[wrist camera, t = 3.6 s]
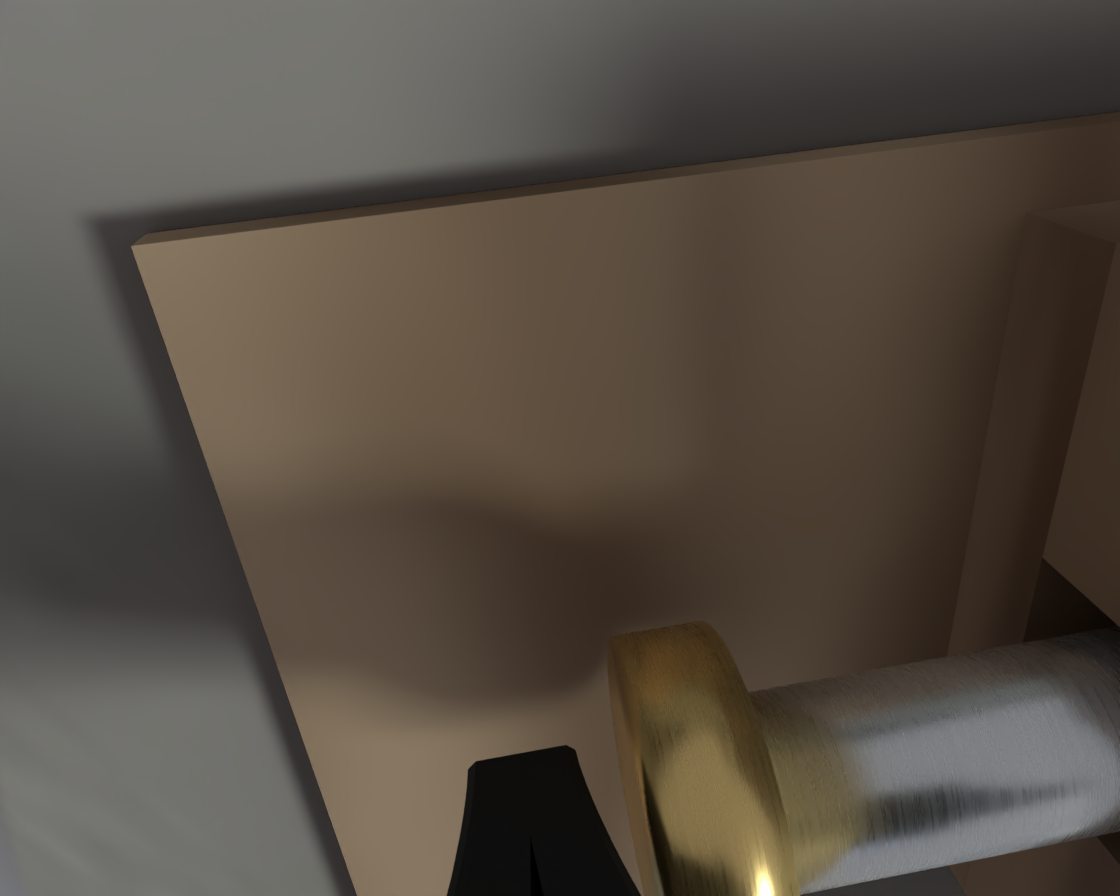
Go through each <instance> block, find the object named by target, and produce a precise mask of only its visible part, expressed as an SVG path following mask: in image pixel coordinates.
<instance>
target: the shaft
mask: <svg viewBox="0 0 1120 896" xmlns="http://www.w3.org/2000/svg"><path fill="white" fill-rule="evenodd" d="M607 670H608V685H609V695H610V705H611V713H612V721H613V729H614V736H615V743H616V750H617V756H618V763H619V769H620V775H621V781H622V787H623V793H624V798H625V804H626V809H627V815H628V820H629V825H630V830H631V836H632V841H633V846H634V850H635V855H636V860H637V865H638V870H639V874H640V879H641V883H642V888H643V892H644V896H800V895H802V894H807V893H812V892H817V891H822V890H827V889H832V888H837V887H842V886H847V885H853V884H858V883H863V882H868V881H873V880H878V879H883V878H888V877H893V876H898V875H903V874H908V873H913V872H918V871H923V870H928V869H933V868H938V867H943V866H948V865H953V864H958V863H963V862H968V861H973V860H978V859H983V858H988V857H993V856H998V855H1003V854H1008V853H1013V852H1018V851H1023V850H1028V849H1033V848H1038V847H1043V846H1048V845H1053V844H1058V843H1063V842H1068V841H1073V840H1078V839H1083V838H1088V837H1093V836H1099V835H1104V834H1109V833H1114V832H1119V831H1120V627H1119V626H1115V627H1110V628H1104V629H1099V630H1093V631H1087V632H1082V633H1076V634H1071V635H1065V636H1059V637H1054V638H1048V639H1042V640H1037V641H1031V642H1026V643H1020V644H1014V645H1009V646H1003V647H998V648H992V649H986V650H981V651H975V652H969V653H964V654H958V655H953V656H947V657H941V658H936V659H930V660H925V661H919V662H913V663H908V664H902V665H896V666H891V667H885V668H880V669H874V670H868V671H863V672H857V673H851V674H846V675H840V676H835V677H829V678H823V679H818V680H812V681H807V682H801V683H795V684H790V685H784V686H778V687H773V688H767V689H762V690H756V691H750V692H748V691H747V689H746V686H745V684H744V681H743V679H742V677H741V675H740V672H739V670H738V668H737V666H736V664H735V662H734V660H733V658H732V656H731V654H730V652H729V650H728V648H727V646H726V645H725V643H724V641H723V640H722V638H721V637H720V635H719V634H718V633H717V632H716V630H715V629H714V628H713V627H712V626H711V625H710V624H709V623H707V622H705V621H695V622H689V623H683V624H677V625H671V626H665V627H660V628H654V629H648V630H642V631H636V632H630V633H624V634H618V635H613V636H610V637H609V640H608V646H607Z"/></svg>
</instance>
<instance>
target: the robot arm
mask: <svg viewBox="0 0 1120 896" xmlns="http://www.w3.org/2000/svg"><path fill="white" fill-rule="evenodd" d="M447 896H641V894H640V892H639V891H638V889H637V887H636V885H635V883H634V882H633V880H632V878H631V876H630V874H629V873H628V871H627V869H626V867H625V865H624V864H623V862H622V860H621V858H620V856H619V854H618V852H617V850H616V848H615V846H614V844H613V842H612V840H611V838H610V836H609V834H608V832H607V830H606V827H605V825H604V823H603V821H602V819H601V817H600V815H599V813H598V810H597V808H596V806H595V803H594V801H593V799H592V796H591V794H590V791H589V789H588V786H587V784H586V781H585V778H584V776H583V773H582V770H581V767H580V764H579V761H578V757H577V753H576V750H575V749H573V748H571V747H569V746H568V745H562V746H557V747H551V748H546V749H540V750H535V751H529V752H524V753H518V754H513V755H507V756H502V757H496V758H491V759H485V760H480V761H475V763H474V764H473V765H472V766H471V767H470V768H469V769H468V776H467V790H466V799H465V806H464V814H463V820H462V826H461V832H460V837H459V842H458V847H457V852H456V857H455V862H454V867H453V872H452V876H451V880H450V884H449V888H448V892H447Z"/></svg>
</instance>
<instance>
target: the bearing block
mask: <svg viewBox="0 0 1120 896" xmlns="http://www.w3.org/2000/svg"><path fill="white" fill-rule="evenodd" d="M131 248H132V251H133V254H134V256H135V259H136V262H137V265H138V268H139V271H140V274H141V277H142V279H143V282H144V285H145V288H146V291H147V294H148V297H149V300H150V302H151V305H152V308H153V311H154V314H155V317H156V320H157V322H158V325H159V328H160V331H161V334H162V337H163V340H164V343H165V345H166V348H167V351H168V354H169V357H170V360H171V363H172V366H173V368H174V371H175V374H176V377H177V380H178V383H179V386H180V389H181V391H182V394H183V397H184V400H185V403H186V406H187V409H188V412H189V414H190V417H191V420H192V423H193V426H194V429H195V432H196V435H197V437H198V440H199V443H200V446H201V449H202V452H203V455H204V458H205V460H206V463H207V466H208V469H209V472H210V475H211V478H212V480H213V483H214V486H215V489H216V492H217V495H218V498H219V501H220V503H221V506H222V509H223V512H224V515H225V518H226V521H227V524H228V526H229V529H230V532H231V535H232V538H233V541H234V544H235V547H236V549H237V552H238V555H239V558H240V561H241V564H242V567H243V570H244V572H245V575H246V578H247V581H248V584H249V587H250V590H251V593H252V595H253V598H254V601H255V604H256V607H257V610H258V613H259V616H260V618H261V621H262V624H263V627H264V630H265V633H266V636H267V638H268V641H269V644H270V647H271V650H272V653H273V656H274V659H275V661H276V664H277V667H278V670H279V673H280V676H281V679H282V682H283V684H284V687H285V690H286V693H287V696H288V699H289V702H290V705H291V707H292V710H293V713H294V716H295V719H296V722H297V725H298V728H299V730H300V733H301V736H302V739H303V742H304V745H305V748H306V751H307V753H308V756H309V759H310V762H311V765H312V768H313V771H314V774H315V776H316V779H317V782H318V785H319V788H320V791H321V794H322V796H323V799H324V802H325V805H326V808H327V811H328V814H329V817H330V819H331V822H332V825H333V828H334V831H335V834H336V837H337V840H338V842H339V845H340V848H341V851H342V854H343V857H344V860H345V863H346V865H347V868H348V871H349V874H350V877H351V880H352V883H353V886H354V888H355V891H356V894H357V896H447V892H448V888H449V884H450V880H451V876H452V872H453V867H454V862H455V857H456V852H457V847H458V842H459V837H460V832H461V826H462V820H463V814H464V806H465V799H466V790H467V776H468V769H469V768H470V767H471V766H472V765H473V764H474V763H475V761H480V760H485V759H491V758H496V757H502V756H507V755H513V754H518V753H524V752H529V751H535V750H540V749H546V748H551V747H557V746H562V745H568V746H569V747H571V748H573V749H575V750H576V753H577V757H578V761H579V764H580V767H581V770H582V773H583V776H584V778H585V781H586V784H587V786H588V789H589V791H590V794H591V796H592V799H593V801H594V803H595V806H596V808H597V810H598V813H599V815H600V817H601V819H602V821H603V823H604V825H605V827H606V830H607V832H608V834H609V836H610V838H611V840H612V842H613V844H614V846H615V848H616V850H617V852H618V854H619V856H620V858H621V860H622V862H623V864H624V865H625V867H626V869H627V871H628V873H629V874H630V876H631V878H632V880H633V882H634V883H635V885H636V887H637V889H638V891H639V892H640V894H641V896H644V892H643V888H642V883H641V879H640V874H639V870H638V865H637V860H636V855H635V850H634V846H633V841H632V836H631V830H630V825H629V820H628V815H627V809H626V804H625V798H624V793H623V787H622V781H621V775H620V769H619V763H618V756H617V750H616V743H615V736H614V729H613V721H612V713H611V705H610V695H609V685H608V670H607V646H608V640H609V637H610V636H613V635H618V634H624V633H630V632H636V631H642V630H648V629H654V628H660V627H665V626H671V625H677V624H683V623H689V622H695V621H705V622H707V623H709V624H710V625H711V626H712V627H713V628H714V629H715V630H716V632H717V633H718V634H719V635H720V637H721V638H722V640H723V641H724V643H725V645H726V646H727V648H728V650H729V652H730V654H731V656H732V658H733V660H734V662H735V664H736V666H737V668H738V670H739V672H740V675H741V677H742V679H743V681H744V684H745V686H746V689H747V691H748V692H750V691H756V690H762V689H767V688H773V687H778V686H784V685H790V684H795V683H801V682H807V681H812V680H818V679H823V678H829V677H835V676H840V675H846V674H851V673H857V672H863V671H868V670H874V669H880V668H885V667H891V666H896V665H902V664H908V663H913V662H919V661H925V660H930V659H936V658H941V657H947V656H953V655H958V654H964V653H969V652H975V651H981V650H986V649H992V648H998V647H1003V646H1009V645H1014V644H1020V643H1026V642H1031V641H1037V640H1042V639H1048V638H1054V637H1059V636H1065V635H1071V634H1076V633H1082V632H1087V631H1093V630H1099V629H1104V628H1110V627H1115V626H1119V627H1120V112H1113V113H1105V114H1097V115H1089V116H1081V117H1073V118H1065V119H1057V120H1049V121H1041V122H1033V123H1025V124H1017V125H1009V126H1001V127H993V128H985V129H977V130H969V131H961V132H953V133H945V134H937V135H929V136H921V137H913V138H905V139H897V140H889V141H881V142H873V143H865V144H857V145H849V146H841V147H833V148H825V149H817V150H809V151H801V152H793V153H785V154H777V155H769V156H761V157H753V158H745V159H737V160H729V161H721V162H713V163H705V164H697V165H689V166H681V167H673V168H665V169H657V170H649V171H641V172H633V173H626V174H618V175H610V176H602V177H594V178H586V179H578V180H570V181H562V182H554V183H546V184H538V185H530V186H522V187H514V188H506V189H498V190H490V191H482V192H474V193H466V194H458V195H450V196H442V197H434V198H426V199H418V200H410V201H402V202H394V203H386V204H378V205H370V206H362V207H354V208H346V209H338V210H330V211H322V212H314V213H306V214H298V215H290V216H282V217H274V218H266V219H258V220H250V221H242V222H234V223H226V224H218V225H210V226H202V227H194V228H186V229H178V230H170V231H162V232H154V233H147V234H145V235H144V236H143V237H142V238H140V239H139V240H138V241H137V242H135V243H134V244H133V245H132V246H131ZM948 867H949V868H950V870H951V872H952V873H953V875H954V877H955V878H956V880H957V882H958V883H959V885H960V887H961V888H962V890H963V892H964V893H965V895H966V896H1120V831H1119V832H1114V833H1109V834H1104V835H1099V836H1093V837H1088V838H1083V839H1078V840H1073V841H1068V842H1063V843H1058V844H1053V845H1048V846H1043V847H1038V848H1033V849H1028V850H1023V851H1018V852H1013V853H1008V854H1003V855H998V856H993V857H988V858H983V859H978V860H973V861H968V862H963V863H958V864H953V865H948Z"/></svg>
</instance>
